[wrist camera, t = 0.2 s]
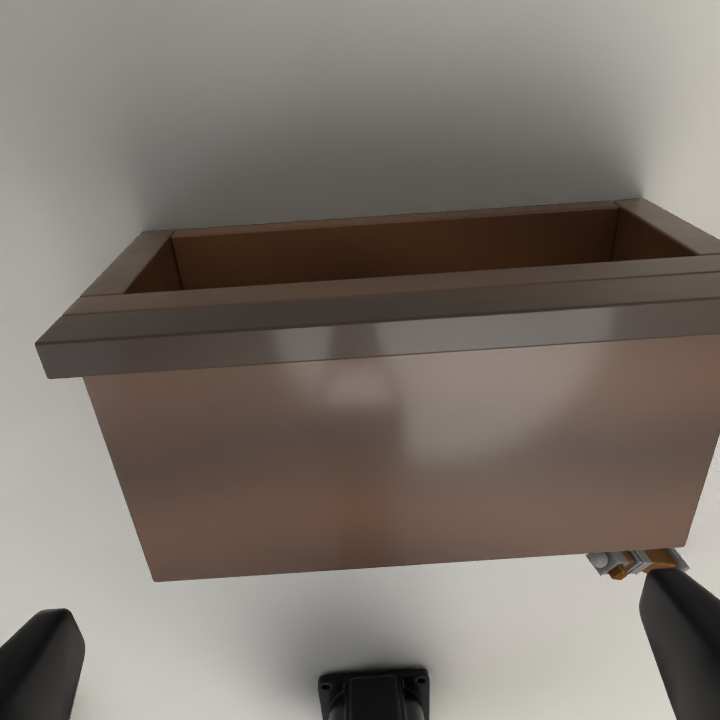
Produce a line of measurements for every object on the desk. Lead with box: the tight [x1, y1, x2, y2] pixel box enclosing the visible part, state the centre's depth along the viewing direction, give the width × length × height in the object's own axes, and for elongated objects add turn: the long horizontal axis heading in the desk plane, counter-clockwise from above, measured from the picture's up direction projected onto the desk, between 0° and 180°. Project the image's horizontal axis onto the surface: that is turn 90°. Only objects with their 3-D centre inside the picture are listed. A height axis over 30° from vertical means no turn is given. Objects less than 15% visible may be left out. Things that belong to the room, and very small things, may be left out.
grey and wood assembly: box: [586, 548, 690, 580], centre depth 27 cm, size 2×8×4 cm, turn 52°
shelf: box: [35, 199, 720, 582], centre depth 19 cm, size 10×18×8 cm, turn 93°
